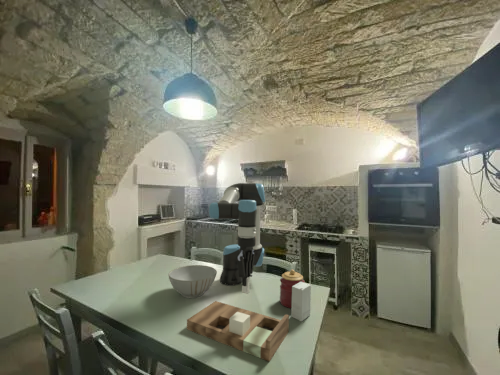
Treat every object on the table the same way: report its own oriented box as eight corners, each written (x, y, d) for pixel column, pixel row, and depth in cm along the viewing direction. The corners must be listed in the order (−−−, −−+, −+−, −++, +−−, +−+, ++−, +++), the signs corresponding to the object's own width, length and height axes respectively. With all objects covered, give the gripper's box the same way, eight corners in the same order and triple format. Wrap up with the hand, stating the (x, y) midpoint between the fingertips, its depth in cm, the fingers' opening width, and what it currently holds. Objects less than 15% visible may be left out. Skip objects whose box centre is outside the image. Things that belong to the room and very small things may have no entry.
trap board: (186, 329, 99) (187, 312, 99) (215, 309, 116) (215, 294, 116) (269, 361, 81) (269, 341, 81) (288, 331, 98) (288, 315, 98)
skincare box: (300, 311, 116) (300, 280, 116) (311, 315, 112) (311, 284, 112) (290, 317, 110) (291, 285, 110) (301, 322, 106) (302, 289, 106)
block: (229, 331, 91) (229, 318, 91) (237, 323, 96) (237, 311, 96) (242, 336, 88) (242, 322, 88) (249, 328, 94) (250, 315, 94)
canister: (285, 310, 116) (286, 274, 117) (276, 298, 129) (276, 266, 129) (309, 307, 120) (309, 272, 120) (297, 296, 132) (297, 265, 133)
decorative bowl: (205, 307, 118) (206, 283, 118) (157, 301, 123) (158, 278, 124) (222, 286, 144) (222, 266, 144) (182, 282, 150) (182, 263, 150)
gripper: (246, 240, 91) (245, 301, 91) (261, 235, 103) (260, 289, 102) (230, 237, 95) (229, 296, 94) (246, 233, 106) (245, 285, 106)
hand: (245, 292), depth 98 cm, fingers closed
